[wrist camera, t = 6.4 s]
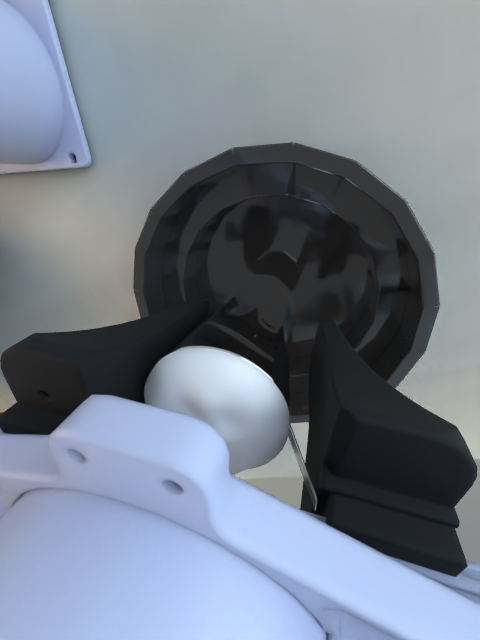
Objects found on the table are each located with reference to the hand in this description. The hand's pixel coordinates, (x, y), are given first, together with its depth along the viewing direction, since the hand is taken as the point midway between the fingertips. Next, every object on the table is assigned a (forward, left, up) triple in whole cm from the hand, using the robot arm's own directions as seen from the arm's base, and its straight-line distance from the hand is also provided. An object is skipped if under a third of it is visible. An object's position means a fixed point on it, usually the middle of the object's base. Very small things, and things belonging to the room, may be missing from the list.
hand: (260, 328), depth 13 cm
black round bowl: (0, 0, -6) cm, 6 cm away
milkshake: (0, 0, -3) cm, 3 cm away
